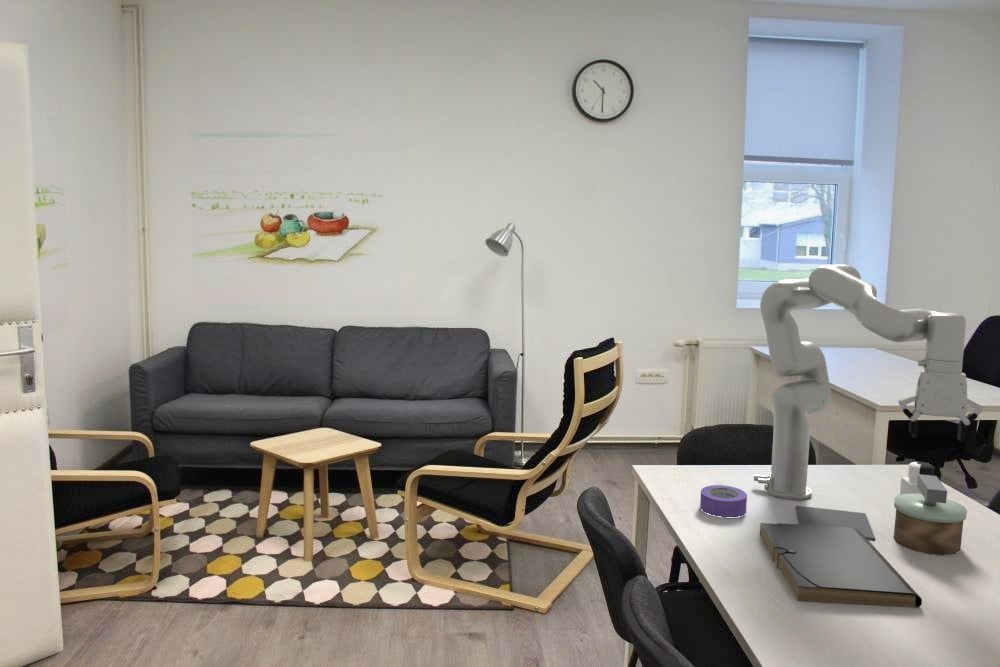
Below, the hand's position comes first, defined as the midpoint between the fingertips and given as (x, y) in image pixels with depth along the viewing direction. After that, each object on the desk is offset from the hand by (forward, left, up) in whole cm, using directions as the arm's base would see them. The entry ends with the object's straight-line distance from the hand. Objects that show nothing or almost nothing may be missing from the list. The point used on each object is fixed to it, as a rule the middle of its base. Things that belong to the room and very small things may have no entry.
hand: (937, 438), depth 180 cm
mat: (-20, +6, -26) cm, 33 cm away
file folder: (-23, -22, -27) cm, 41 cm away
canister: (0, 0, -26) cm, 26 cm away
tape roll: (-47, +6, -26) cm, 54 cm away
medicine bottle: (+3, +26, -26) cm, 37 cm away
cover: (0, 0, -18) cm, 18 cm away
